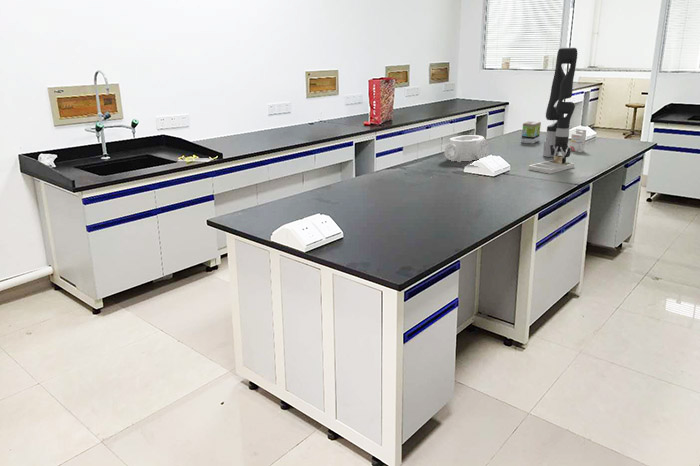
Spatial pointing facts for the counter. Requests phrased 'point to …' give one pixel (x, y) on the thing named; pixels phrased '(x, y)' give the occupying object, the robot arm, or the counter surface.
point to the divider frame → (550, 167)
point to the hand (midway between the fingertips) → (559, 162)
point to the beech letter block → (558, 159)
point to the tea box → (530, 132)
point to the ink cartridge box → (578, 140)
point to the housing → (466, 148)
